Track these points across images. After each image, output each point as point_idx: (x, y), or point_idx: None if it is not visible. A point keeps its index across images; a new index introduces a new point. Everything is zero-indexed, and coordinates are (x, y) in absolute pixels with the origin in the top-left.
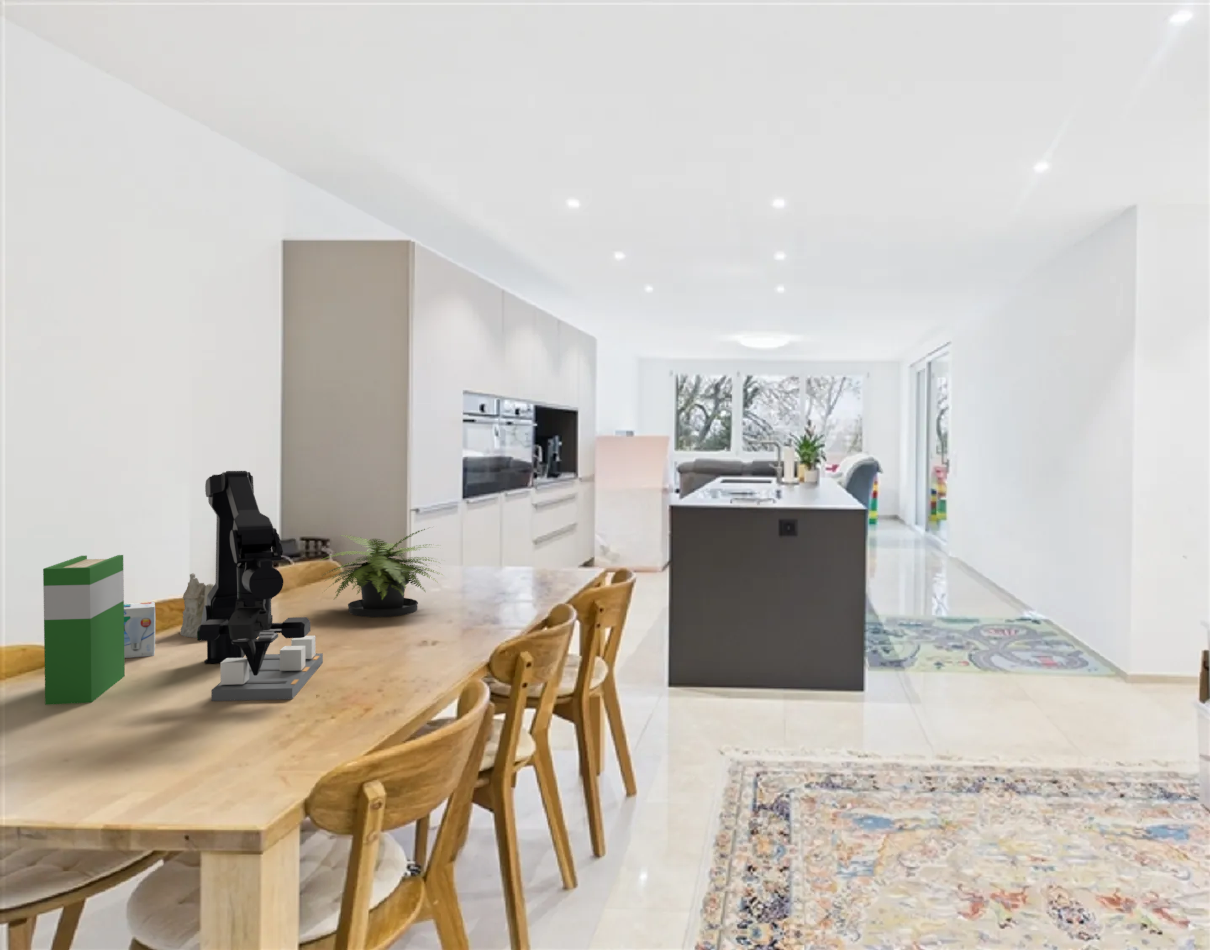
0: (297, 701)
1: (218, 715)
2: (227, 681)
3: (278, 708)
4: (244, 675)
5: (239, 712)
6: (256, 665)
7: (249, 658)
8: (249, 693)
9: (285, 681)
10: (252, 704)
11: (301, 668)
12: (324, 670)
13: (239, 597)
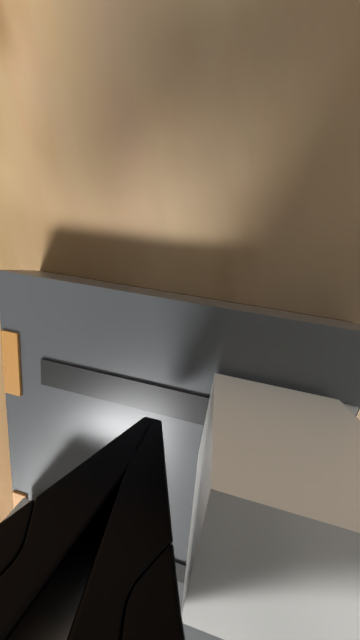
0: (17, 238)
1: (305, 48)
2: (306, 401)
3: (58, 147)
4: (209, 413)
5: (206, 99)
6: (115, 457)
7: (143, 541)
8: (182, 297)
9: (46, 378)
10: (167, 228)
11: (17, 506)
12: None
13: None
